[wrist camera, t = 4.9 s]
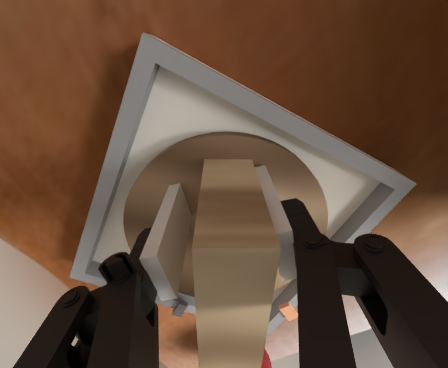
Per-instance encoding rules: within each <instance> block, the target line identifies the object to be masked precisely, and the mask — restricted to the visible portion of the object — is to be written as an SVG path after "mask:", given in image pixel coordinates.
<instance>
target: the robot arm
mask: <svg viewBox="0 0 448 368" xmlns="http://www.w3.org/2000/svg"><path fill="white" fill-rule="evenodd" d="M255 170H256V173H257V176H258V179H259V182H260V185H261V188H262V191H263V194H264V198H265V201H266V204H267V207H268V210H269V213H270V216H271V219H272V222H273V225H274V228H275V231H276V234H277V237H278V241H279V244H280V247H281V252H280V258H279V264H278V271H279V274H280V278H281V281H285V280H291V279H297V300H298V332H299V362H300V368H356V363H355V358H354V353H353V348H352V344H351V339H350V334H349V329H348V324H347V319H346V314H345V310H344V305H343V300H342V295H350V296H354V297H355V298H356V300H357V302H358V304H359V306H360V307H361V309H362V311H363V313H364V315H365V317H366V318H367V320H368V322H369V324H370V326H371V327H372V329H373V331H374V333H375V335H376V336H377V338H378V340H379V342H380V344H381V345H382V347H383V349H384V351H385V353H386V354H387V356H388V358H389V360H390V362H391V363H392V365H393V367H394V368H448V302H447V301H446V300H445V299H444V297H443V296H442V295H441V294H440V293H439V292H438V291H437V290H436V289H435V288H434V287H433V286H432V284H431V283H430V282H429V281H428V280H427V279H426V278H425V277H424V276H423V275H422V274H421V273H420V271H419V270H418V269H417V268H416V267H415V266H414V265H413V264H412V263H411V262H410V261H409V260H408V258H407V257H406V256H405V255H404V254H403V253H402V252H401V251H400V250H399V249H398V248H397V247H396V245H395V244H394V243H393V242H392V241H390V240H389V239H388V238H386V237H383V236H381V235H377V234H363V235H360V236H358V237H357V238H356V239H355V240H354V243H341V242H335V241H331V240H329V238H328V237H327V236H325V235H324V234H321V233H320V231H319V229H318V227H317V226H316V224H315V222H314V220H313V219H312V217H311V215H310V214H309V212H308V210H307V208H306V206H305V205H304V203H303V202H302V201H300V200H299V199H297V198H293V199H288V200H283V201H280V199H279V197H278V195H277V192H276V190H275V187H274V185H273V183H272V180H271V178H270V175H269V173H268V171H267V168H266V166H265V165H263V166H258V167H255ZM191 219H192V215H191V212H190V209H189V207H188V204H187V201H186V198H185V195H184V193H183V190H182V187H181V184H180V183H179V184H174V185H169V187H168V190H167V192H166V195H165V197H164V199H163V202H162V204H161V207H160V209H159V212H158V214H157V217H156V219H155V221H154V224H153V226H152V227H150V228H145V229H144V230H143V231H142V232H141V233H140V234H139V235H138V237H137V239H136V241H135V244H134V246H133V249H132V250H131V252H130V254H128V253H127V252H119V253H115V254H113V255H111V256H109V257H108V258H107V259H105V260H104V261H103V262H102V263H101V264H100V266H99V268H98V270H99V271H100V273H101V275H102V276H103V278H104V279H105V281H106V282H107V284H106V285H104V286H102V287H100V288H97V289H95V290H93V291H91V292H90V291H89V289H88V288H87V287H85V286H78V287H75V288H73V289H71V290H69V291H67V292H66V293H65V294H64V295H63V296H62V297H61V298H60V299H59V300H58V301H57V303H56V304H55V305H54V307H53V308H52V310H51V311H50V313H49V314H48V316H47V318H46V319H45V320H44V322H43V323H42V325H41V327H40V328H39V329H38V331H37V333H36V334H35V335H34V337H33V338H32V340H31V341H30V343H29V344H28V346H27V347H26V349H25V350H24V352H23V353H22V355H21V357H20V358H19V359H18V361H17V362H16V364H15V365H14V367H13V368H159V337H158V307H157V304H156V303H155V300H156V296H157V294H158V296H159V298H160V299H161V301H166V300H172V299H177V296H178V290H179V285H180V279H181V274H182V268H183V263H184V257H185V252H186V247H187V241H188V236H189V230H190V225H191ZM341 294H342V295H341ZM75 336H76V337H77V338H78V341H77V343H76V345H75V346H72V345H71V343H72V342H73V340H74V338H75Z"/></svg>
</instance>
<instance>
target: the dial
mask: <svg viewBox="0 0 448 368" xmlns="http://www.w3.org/2000/svg"><path fill="white" fill-rule="evenodd" d="M263 165H265V166H266V168H267V171H268V173H269V175H270V178H271V180H272V183H273V185H274V187H275V190H276V192H277V195H278V197H279V199H280V201H283V200H288V199H293V198H297V199H299V200H300V201H302V202H303V203H304V205H305V206H306V208H307V210H308V212H309V214H310V215H311V217H312V219H313V220H314V222H315V224H316V226H317V227H318V229H319V231H320V233H321V234H324V235H326V231H327V226H328V209H327V202H326V199H325V196H324V193H323V190H322V188H321V186H320V184H319V182H318V180H317V179H316V178H315V176H314V175H313V174H312V172H311V171H310V170H309V168H308V167H307V166H306V165H305V164H304V163H303V162H302V161H301V160H300V159H299V158H298V157H297V156H296V155H295V154H294V153H292V152H291V151H290V150H288V149H287V148H285V147H284V146H282V145H280V144H278V143H276V142H274V141H272V140H269V139H266V138H264V137H261V136H258V135H253V134H248V133H243V132H230V131H226V132H211V133H206V134H201V135H196V136H193V137H190V138H187V139H184V140H182V141H180V142H178V143H176V144H174V145H171V146H170V147H168V148H167V149H165V150H164V151H162V152H161V153H159V154H158V155H157V156H156V157H155V158H154V159H152V160H151V161H150V162H149V163H148V164H147V166H146V167H145V168H144V169H143V170H142V172H141V173H140V174H139V176H138V177H137V179H136V181H135V182H134V184H133V186H132V187H131V189H130V191H129V194H128V197H127V199H126V203H125V208H124V214H123V225H124V233H125V237H126V240H127V243H128V246H129V248H130V250H132V249H133V246H134V244H135V241H136V239H137V237H138V235H139V234H140V233H141V232H142V231H143V230H144V229H145V228H150V227H152V226H153V224H154V221H155V219H156V217H157V214H158V212H159V209H160V207H161V204H162V202H163V199H164V197H165V195H166V192H167V190H168V187H169V185H174V184H179V183H180V184H181V187H182V190H183V193H184V195H185V198H186V201H187V204H188V207H189V209H190V212H191V215H192V219H191V225H190V230H189V236H188V241H187V247H186V252H185V257H184V263H183V268H182V274H181V279H180V285H179V290H178V292H180V293H182V294H185V295H188V296H192V297H195V310H196V327H197V343H198V360H199V368H261V366H262V360H263V354H264V348H265V342H266V336H267V330H268V324H269V318H270V312H271V306H272V300H273V294H274V290H275V289H278V288H279V287H281V286H283V285H285V284H287V283H288V282H290V281H291V280H293V279H291V280H285V281H281V278H280V274H279V271H278V264H279V258H280V252H281V247H280V244H279V241H278V237H277V234H276V231H275V228H274V225H273V222H272V219H271V216H270V213H269V210H268V207H267V204H266V201H265V198H264V194H263V191H262V188H261V185H260V182H259V179H258V176H257V173H256V170H255V167H258V166H263Z"/></svg>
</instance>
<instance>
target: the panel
mask: <svg viewBox="0 0 448 368" xmlns="http://www.w3.org/2000/svg"><path fill="white" fill-rule="evenodd" d="M226 131H230V132H243V133H248V134H253V135H258V136H261V137H264V138H266V139H269V140H272V141H274V142H276V143H278V144H280V145H282V146H284V147H285V148H287V149H288V150H290V151H291V152H292V153H294V154H295V155H296V156H297V157H298V158H299V159H300V160H301V161H302V162H303V163H304V164H305V165H306V166H307V167H308V168H309V170H310V171H311V172H312V174H313V175H314V176H315V178H316V179H317V180H318V182H319V184H320V186H321V188H322V190H323V193H324V196H325V199H326V202H327V209H328V226H327V231H326V235H325V236H327V237H328V238H329V240H331V241H335V242H341V243H354V240H355V239H356V238H357V237H358V236H360V235H363V234H368V233H369V232H370V231H371V230H372V229H373V228H374V227H375V226H376V225H377V224H378V223H379V222H380V221H381V220H382V219H383V218H384V217H385V216H386V215H387V214H388V213H389V212H390V211H391V210H392V209H393V208H394V207H395V206H396V205H397V204H398V203H399V202H400V201H401V200H402V199H403V198H404V197H405V196H406V195H407V194H408V193H409V191H410V190H411V189H412V188H413V187H414V186H415V185H416V184H417V183H415V182H414V181H412V180H411V179H409V178H407V177H406V176H404V175H403V174H401V173H400V172H398V171H396V170H395V169H393V168H392V167H390V166H388V165H386V164H384V163H383V162H381V161H379V160H377V159H375V158H374V157H372V156H370V155H368V154H366V153H365V152H363V151H361V150H359V149H357V148H356V147H354V146H352V145H350V144H348V143H346V142H345V141H343V140H341V139H339V138H337V137H336V136H334V135H332V134H330V133H328V132H327V131H325V130H323V129H321V128H319V127H318V126H316V125H314V124H312V123H310V122H309V121H307V120H305V119H303V118H301V117H300V116H298V115H296V114H294V113H292V112H291V111H289V110H287V109H285V108H283V107H282V106H280V105H278V104H276V103H274V102H272V101H271V100H269V99H267V98H265V97H263V96H262V95H260V94H258V93H256V92H254V91H253V90H251V89H249V88H247V87H245V86H244V85H242V84H240V83H238V82H236V81H235V80H233V79H231V78H229V77H227V76H226V75H224V74H222V73H220V72H218V71H217V70H215V69H213V68H211V67H209V66H208V65H206V64H204V63H202V62H200V61H199V60H197V59H195V58H193V57H191V56H189V55H188V54H186V53H184V52H182V51H180V50H179V49H177V48H175V47H173V46H171V45H170V44H168V43H166V42H164V41H162V40H161V39H159V38H157V37H155V36H152V35H149V34H146V33H143V32H142V36H141V39H140V42H139V46H138V49H137V53H136V56H135V59H134V63H133V66H132V69H131V73H130V76H129V79H128V83H127V86H126V89H125V93H124V96H123V99H122V103H121V106H120V109H119V113H118V116H117V119H116V123H115V126H114V129H113V133H112V136H111V140H110V143H109V146H108V150H107V153H106V156H105V160H104V163H103V166H102V170H101V173H100V176H99V180H98V183H97V186H96V190H95V193H94V196H93V200H92V203H91V206H90V210H89V213H88V217H87V220H86V223H85V227H84V230H83V233H82V237H81V240H80V243H79V247H78V250H77V253H76V257H75V260H74V263H73V267H72V270H71V273H70V277H69V278H73V279H76V280H79V281H83V282H86V283H90V284H93V285H96V286H100V287H102V286H104V285H106V284H107V282H106V281H105V279H104V278H103V276H102V275H101V273H100V271H99V270H98V268H99V266H100V264H101V263H102V262H103V261H104V260H105V259H107V258H108V257H109V256H111V255H113V254H115V253H119V252H127V253H128V254H130V252H131V250H130V248H129V246H128V243H127V240H126V237H125V233H124V225H123V214H124V208H125V203H126V199H127V197H128V194H129V191H130V189H131V187H132V186H133V184H134V182H135V181H136V179H137V177H138V176H139V174H140V173H141V172H142V170H143V169H144V168H145V167H146V166H147V164H148V163H149V162H150V161H151V160H152V159H154V158H155V157H156V156H157V155H158V154H159V153H161V152H162V151H164V150H165V149H167V148H168V147H170V146H171V145H174V144H176V143H178V142H180V141H182V140H184V139H187V138H190V137H193V136H196V135H201V134H206V133H211V132H226ZM155 303H158V304H161V305H164V306H168V307H171V308H174V310H173V313H172V315H176V316H179V317H181V316H182V314H183V313H184V311H185V312H188V313H192V314H195V315H196V310H195V297H192V296H188V295H185V294H182V293H180V292H178V296H177V299H172V300H166V301H161V299H160V298H159V296H158V294H157V296H156V300H155ZM297 306H298V300H297V279H293V280H291V281H290V282H288V283H287V284H285V285H283V286H281V287H279V288H278V289H275V290H274V294H273V300H272V306H271V312H270V318H269V324H268V330H267V336H268V335H269V334H270V333H271V332H272V331H273V330H274V329H275V328H276V327H277V326H278V325H279V324H280V323H281V322H282V321H283V320H284V319H285V318H287V319H288V320H289V321H290V320H293V319H295V318H298V313H297V312H296V310H295V308H296V307H297Z"/></svg>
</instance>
